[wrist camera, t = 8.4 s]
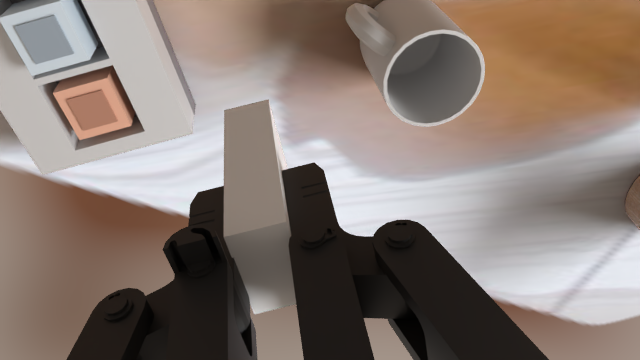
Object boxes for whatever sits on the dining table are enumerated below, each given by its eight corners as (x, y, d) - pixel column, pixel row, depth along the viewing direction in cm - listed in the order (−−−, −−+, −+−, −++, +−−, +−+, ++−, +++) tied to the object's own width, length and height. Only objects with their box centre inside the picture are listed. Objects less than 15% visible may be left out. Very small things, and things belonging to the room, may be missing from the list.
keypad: (-99, -119, 35) (-142, -108, 31) (83, -171, 35) (63, -167, 31) (58, 142, 47) (42, 175, 43) (195, 104, 46) (192, 133, 42)
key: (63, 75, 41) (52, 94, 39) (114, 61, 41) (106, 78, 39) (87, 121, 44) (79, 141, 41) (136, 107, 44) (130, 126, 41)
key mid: (13, 3, 37) (-3, 19, 34) (70, -13, 37) (59, 1, 34) (44, 58, 39) (31, 76, 37) (98, 43, 39) (89, 60, 36)
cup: (407, 90, 48) (439, 142, 41) (312, 33, 44) (329, 79, 37) (461, 21, 46) (506, 63, 38) (365, -48, 41) (394, -15, 34)
